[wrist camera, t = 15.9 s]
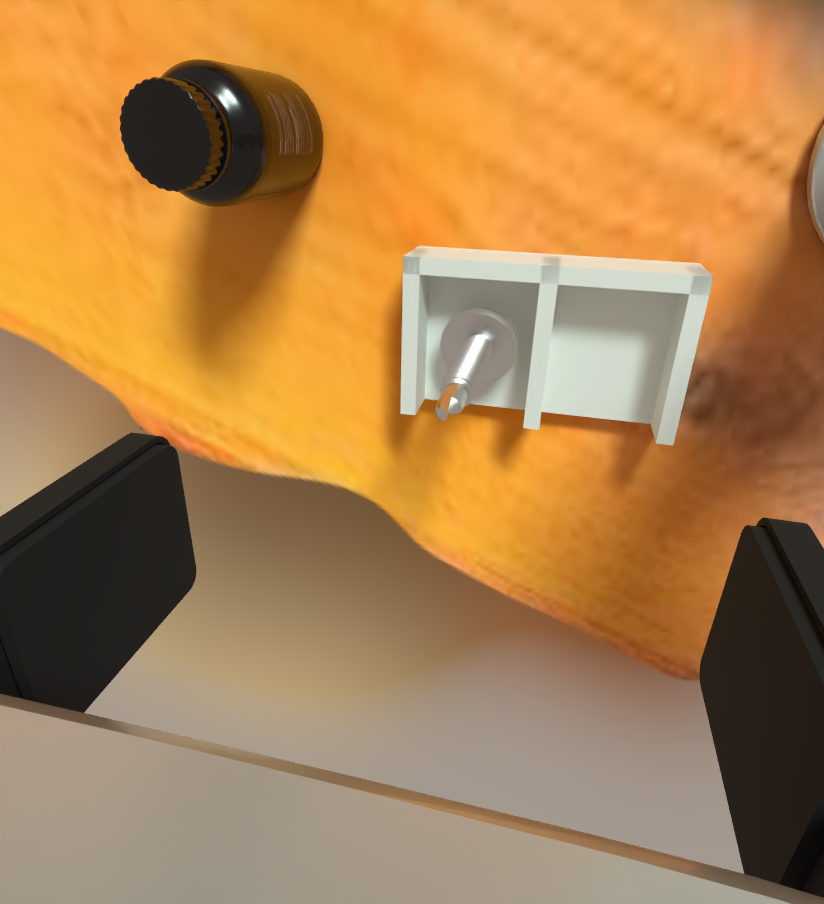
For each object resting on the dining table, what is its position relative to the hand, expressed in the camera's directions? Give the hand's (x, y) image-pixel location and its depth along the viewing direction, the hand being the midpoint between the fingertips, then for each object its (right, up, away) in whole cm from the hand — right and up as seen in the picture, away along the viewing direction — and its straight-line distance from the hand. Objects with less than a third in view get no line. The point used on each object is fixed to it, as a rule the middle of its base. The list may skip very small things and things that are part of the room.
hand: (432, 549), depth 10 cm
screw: (+4, +9, +30) cm, 32 cm away
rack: (+8, +9, +30) cm, 33 cm away
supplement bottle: (-9, +22, +29) cm, 37 cm away
